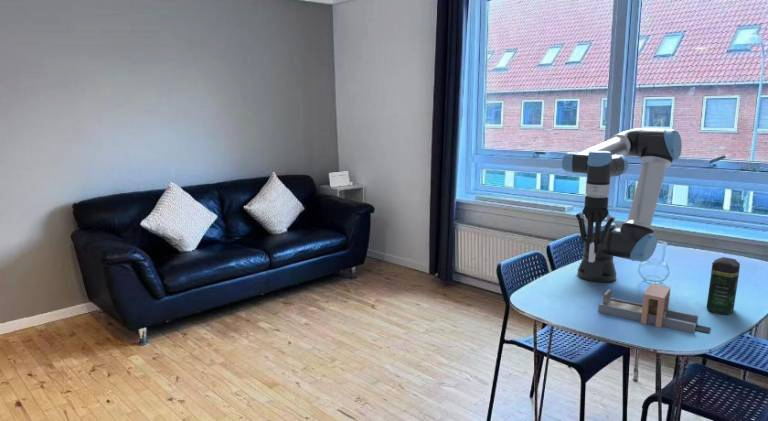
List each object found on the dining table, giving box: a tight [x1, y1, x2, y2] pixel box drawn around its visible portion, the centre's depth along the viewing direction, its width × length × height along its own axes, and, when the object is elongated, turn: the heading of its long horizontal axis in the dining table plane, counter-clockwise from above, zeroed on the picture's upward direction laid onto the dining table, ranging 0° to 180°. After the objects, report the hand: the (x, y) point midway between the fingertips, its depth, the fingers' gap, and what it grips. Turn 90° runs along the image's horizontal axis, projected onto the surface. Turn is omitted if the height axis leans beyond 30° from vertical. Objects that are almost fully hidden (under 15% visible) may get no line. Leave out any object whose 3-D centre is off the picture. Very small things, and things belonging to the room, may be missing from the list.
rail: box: [597, 297, 699, 334], centre depth 176 cm, size 29×9×3 cm, turn 53°
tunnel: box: [640, 283, 671, 329], centre depth 173 cm, size 6×12×10 cm, turn 143°
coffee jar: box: [706, 256, 741, 315], centre depth 180 cm, size 10×8×19 cm
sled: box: [602, 288, 667, 317], centre depth 177 cm, size 19×6×6 cm, turn 53°
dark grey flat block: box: [694, 324, 712, 334], centre depth 166 cm, size 4×5×1 cm
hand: (591, 261), depth 184 cm, fingers closed
